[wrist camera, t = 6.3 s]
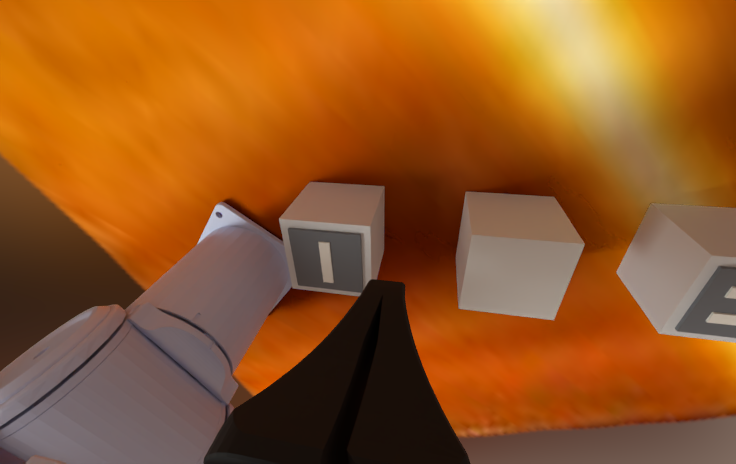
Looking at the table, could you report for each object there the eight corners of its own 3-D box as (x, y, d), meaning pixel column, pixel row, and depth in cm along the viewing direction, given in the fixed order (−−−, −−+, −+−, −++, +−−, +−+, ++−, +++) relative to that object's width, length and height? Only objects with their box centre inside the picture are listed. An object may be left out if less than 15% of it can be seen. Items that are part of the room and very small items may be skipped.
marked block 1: (318, 243, 24) (290, 291, 20) (310, 181, 21) (276, 221, 17) (384, 249, 23) (370, 301, 19) (384, 185, 21) (369, 229, 16)
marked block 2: (615, 272, 21) (662, 338, 16) (650, 202, 18) (716, 259, 14) (706, 280, 20) (780, 352, 16) (756, 208, 17) (863, 271, 13)
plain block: (455, 256, 22) (458, 308, 18) (465, 190, 20) (471, 234, 16) (532, 263, 22) (553, 320, 18) (553, 196, 19) (585, 244, 15)
